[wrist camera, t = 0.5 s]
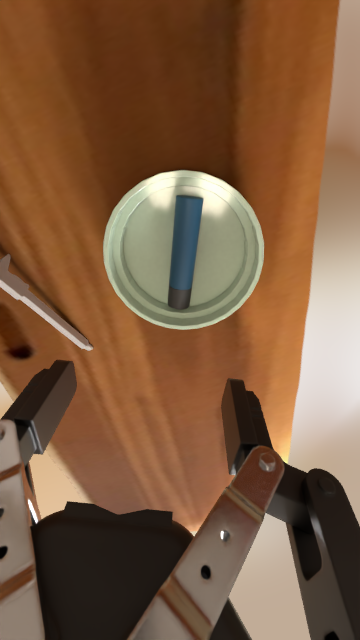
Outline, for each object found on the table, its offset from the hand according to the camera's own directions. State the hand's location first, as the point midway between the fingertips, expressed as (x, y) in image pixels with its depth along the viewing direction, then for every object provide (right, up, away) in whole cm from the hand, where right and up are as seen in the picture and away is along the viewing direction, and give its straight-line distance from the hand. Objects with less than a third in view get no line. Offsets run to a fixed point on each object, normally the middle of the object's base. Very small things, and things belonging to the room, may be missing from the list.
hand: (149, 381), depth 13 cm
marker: (+2, +12, +21) cm, 24 cm away
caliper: (-19, +6, +26) cm, 33 cm away
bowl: (+2, +12, +21) cm, 25 cm away
